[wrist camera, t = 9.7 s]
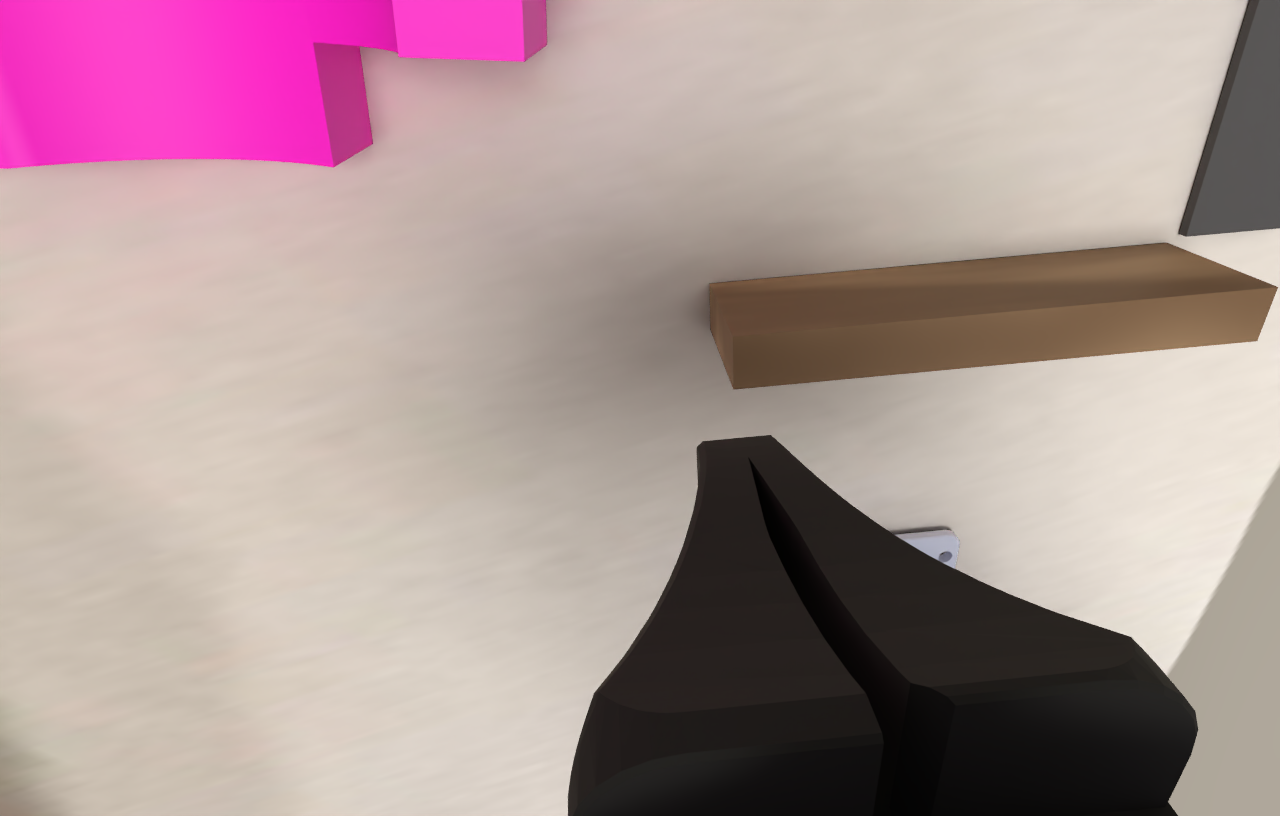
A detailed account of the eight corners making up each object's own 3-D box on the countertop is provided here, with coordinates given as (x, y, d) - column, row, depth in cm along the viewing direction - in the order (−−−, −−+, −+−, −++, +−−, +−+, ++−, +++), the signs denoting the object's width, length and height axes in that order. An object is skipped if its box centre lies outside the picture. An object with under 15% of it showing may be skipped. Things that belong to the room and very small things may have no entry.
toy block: (-36, 131, 18) (-384, 196, 12) (-159, -178, 15) (-719, -320, 9) (549, 147, 19) (530, 214, 13) (542, -139, 16) (512, -240, 10)
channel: (1152, 289, 22) (1257, 340, 19) (710, 329, 22) (733, 389, 19) (1307, -231, 16) (1504, -297, 13) (698, -185, 16) (729, -240, 12)
